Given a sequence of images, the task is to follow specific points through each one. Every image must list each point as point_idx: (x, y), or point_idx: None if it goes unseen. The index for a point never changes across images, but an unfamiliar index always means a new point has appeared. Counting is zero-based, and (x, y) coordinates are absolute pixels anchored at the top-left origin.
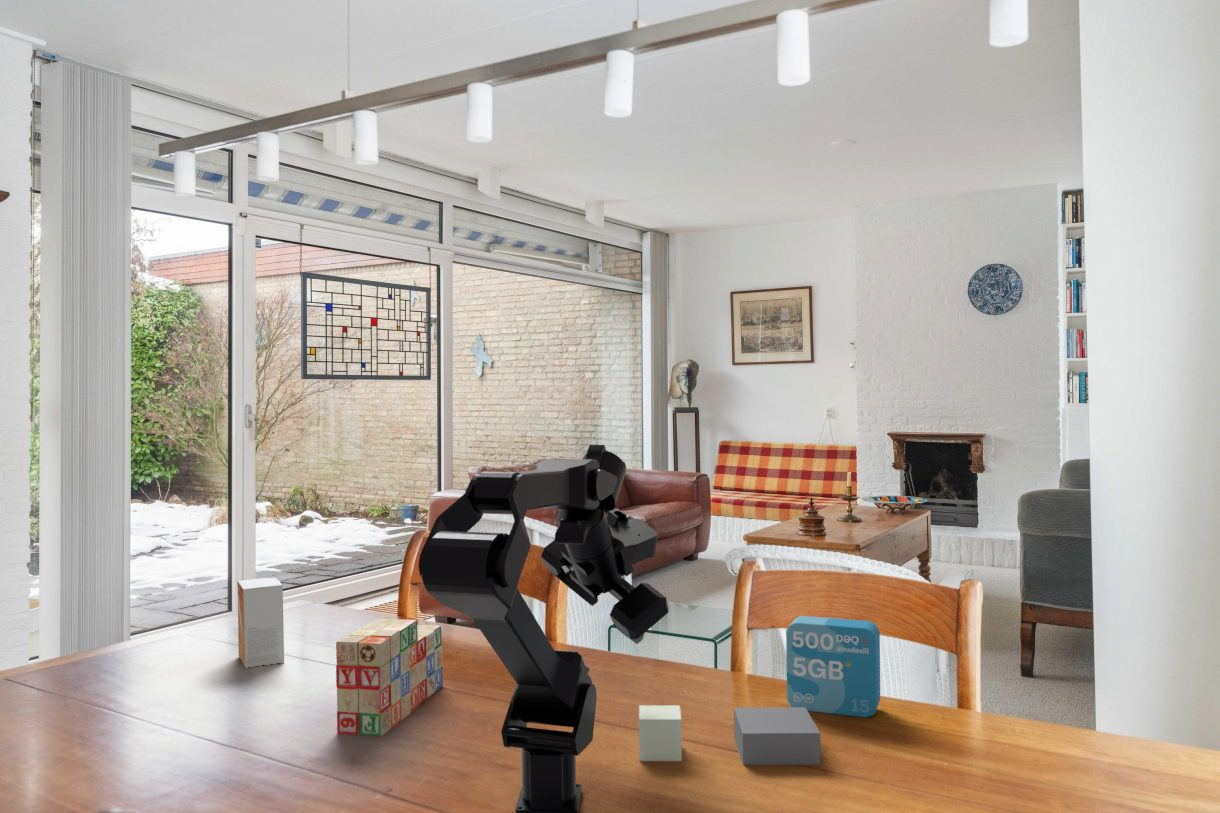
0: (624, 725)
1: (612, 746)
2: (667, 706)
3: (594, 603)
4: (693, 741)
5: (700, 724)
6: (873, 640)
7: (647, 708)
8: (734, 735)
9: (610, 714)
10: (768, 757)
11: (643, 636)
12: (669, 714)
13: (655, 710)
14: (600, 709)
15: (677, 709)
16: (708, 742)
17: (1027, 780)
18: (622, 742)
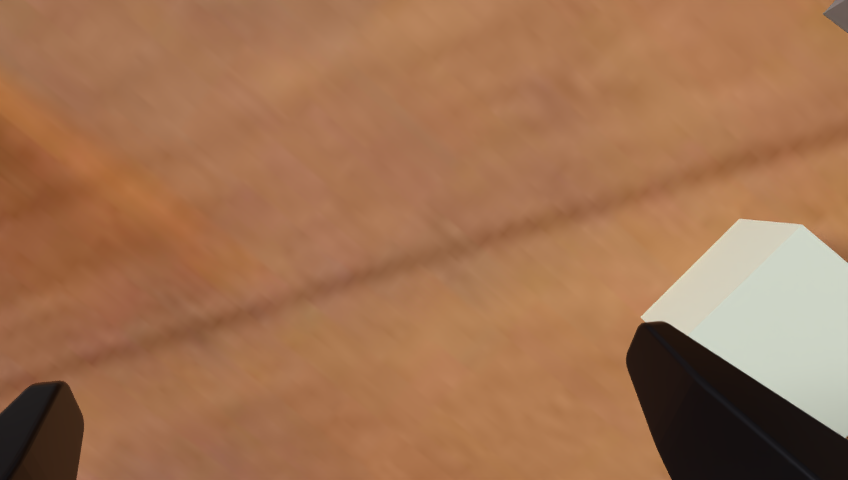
0: (469, 235)
1: (587, 387)
2: (772, 274)
3: (75, 416)
4: (747, 160)
5: (642, 25)
6: None
7: (726, 352)
8: (834, 17)
9: (359, 201)
10: None
11: (694, 342)
12: None
13: (772, 346)
14: (302, 195)
15: (834, 268)
16: (793, 126)
17: None
18: (583, 341)
